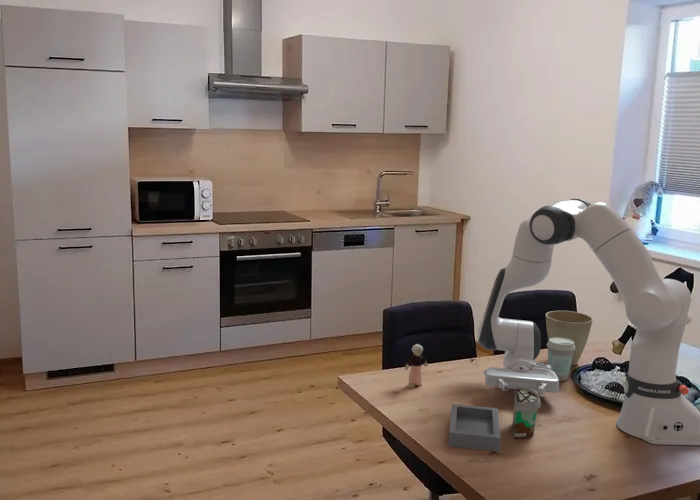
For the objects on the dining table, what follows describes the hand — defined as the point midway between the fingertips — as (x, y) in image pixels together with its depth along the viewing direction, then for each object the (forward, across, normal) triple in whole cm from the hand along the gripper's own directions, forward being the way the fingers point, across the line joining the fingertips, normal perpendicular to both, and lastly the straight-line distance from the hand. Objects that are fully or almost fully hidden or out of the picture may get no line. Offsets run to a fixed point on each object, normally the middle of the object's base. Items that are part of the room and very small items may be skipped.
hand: (523, 390), depth 186 cm
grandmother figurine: (-11, -30, +6) cm, 33 cm away
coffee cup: (-29, +13, +6) cm, 33 cm away
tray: (+18, -13, +6) cm, 23 cm away
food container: (+15, 0, +6) cm, 16 cm away
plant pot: (-45, +17, +6) cm, 49 cm away
